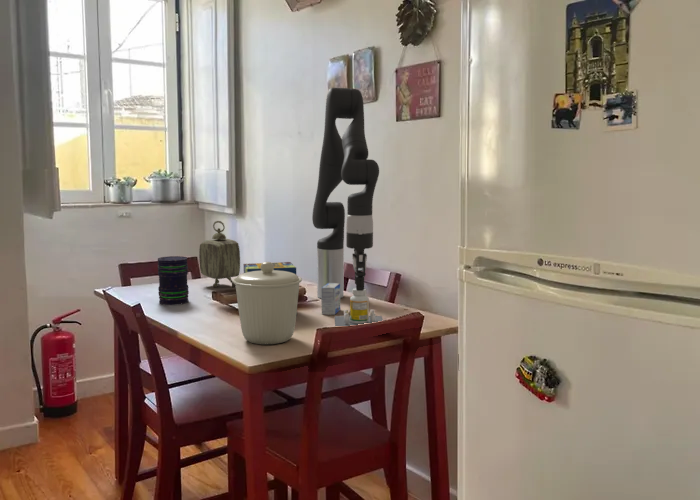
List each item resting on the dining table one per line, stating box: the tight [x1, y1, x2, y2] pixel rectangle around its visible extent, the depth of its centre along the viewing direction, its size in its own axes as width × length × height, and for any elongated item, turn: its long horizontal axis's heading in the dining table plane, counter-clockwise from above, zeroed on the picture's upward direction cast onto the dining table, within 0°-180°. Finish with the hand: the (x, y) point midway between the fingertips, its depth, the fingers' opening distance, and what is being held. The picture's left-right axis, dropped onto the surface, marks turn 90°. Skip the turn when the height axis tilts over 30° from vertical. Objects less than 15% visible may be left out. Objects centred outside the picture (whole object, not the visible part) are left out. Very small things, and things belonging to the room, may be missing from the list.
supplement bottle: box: [349, 287, 370, 324], centre depth 193 cm, size 5×5×10 cm
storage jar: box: [157, 255, 190, 306], centre depth 227 cm, size 10×10×15 cm
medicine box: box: [320, 283, 341, 316], centre depth 213 cm, size 8×4×9 cm, turn 168°
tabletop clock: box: [198, 220, 241, 288], centre depth 255 cm, size 14×9×25 cm, turn 46°
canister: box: [232, 261, 303, 345], centre depth 179 cm, size 18×18×21 cm
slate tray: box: [334, 309, 384, 327], centre depth 193 cm, size 16×14×4 cm
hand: (359, 287), depth 192 cm, fingers open, 8 cm apart
